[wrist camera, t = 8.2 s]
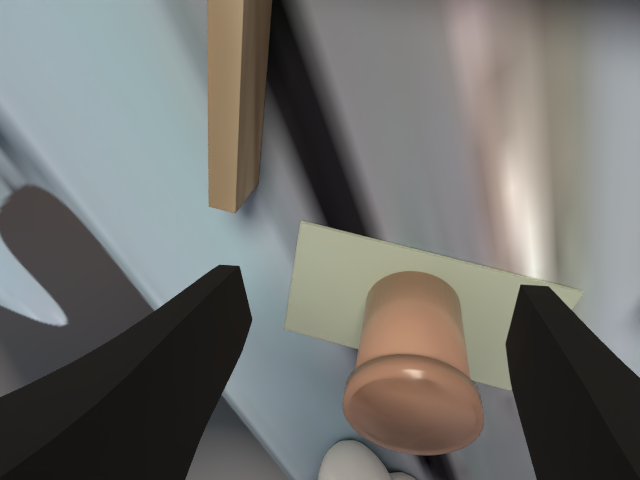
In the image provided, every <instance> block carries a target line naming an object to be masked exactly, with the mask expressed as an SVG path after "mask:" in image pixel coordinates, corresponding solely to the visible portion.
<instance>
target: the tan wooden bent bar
mask: <svg viewBox="0 0 640 480" xmlns="http://www.w3.org/2000/svg"><path fill="white" fill-rule="evenodd" d="M271 10H272V0H207V34H208V169H209V207H212V208H216V209H220V210H224V211H228V212H232V213H236V212H237V210H238V209H239V208H240V207H241V205H242V204H243V203H244V201H245V200H246V199H247V197H248V196H249V195H250V194H251V192H252V191H253V190H254V188H255V187H256V186H257V185H258V182H259V169H260V156H261V143H262V129H263V116H264V103H265V89H266V76H267V63H268V50H269V36H270V23H271Z"/></svg>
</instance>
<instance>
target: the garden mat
mask: <svg viewBox="0 0 640 480" xmlns="http://www.w3.org/2000/svg"><path fill="white" fill-rule="evenodd" d="M403 271H418V272H424V273H428V274H432V275H434V276H436V277H439V278H440V279H442V280H444V281H445V282H447V283H448V284H449V285H450V286H451V287H452V288H453V289H454V290H455V292H456V293H457V295H458V297H459V300H460V305H461V312H462V319H463V327H464V334H465V342H466V350H467V357H468V365H469V372H470V379H471V380H472V381H476V382H480V383H483V384H487V385H491V386H494V387H498V388H502V389H505V390H509V391H510V390H511V389H512V386H511V382H510V375H509V369H508V361H507V353H506V346H505V343H506V339H507V335H508V331H509V328H510V324H511V320H512V316H513V312H514V308H515V304H516V300H517V296H518V292H519V288H520V285H521V284H522V285H538V286H549V287H550V288H551V289H552V290H553V291H554V292H555V293H556V294H557V295H558V296H559V297H560V298H561V300H562V301H563V302H564V303H565V304H566V305H567V306H568V307H569V308H570V309H571V310H572V308H573V307H574V306H575V304H576V303H577V302H578V300H579V299H580V298H581V296H582V295H583V294H584V293H583V291H581V290H577V289H573V288H569V287H565V286H561V285H557V284H553V283H549V282H545V281H541V280H537V279H533V278H529V277H525V276H521V275H517V274H513V273H509V272H505V271H501V270H497V269H493V268H489V267H485V266H481V265H477V264H473V263H469V262H465V261H461V260H457V259H453V258H449V257H445V256H441V255H437V254H433V253H429V252H425V251H421V250H417V249H413V248H409V247H405V246H401V245H397V244H393V243H389V242H385V241H381V240H377V239H373V238H369V237H365V236H361V235H357V234H353V233H349V232H345V231H341V230H337V229H333V228H329V227H325V226H321V225H317V224H313V223H309V222H305V221H301V223H300V230H299V236H298V243H297V249H296V255H295V262H294V268H293V275H292V281H291V288H290V294H289V300H288V307H287V313H286V320H285V326H284V329H285V330H289V331H293V332H296V333H300V334H304V335H307V336H311V337H315V338H318V339H322V340H326V341H329V342H333V343H337V344H340V345H344V346H348V347H351V348H355V349H359V343H360V337H361V330H362V324H363V317H364V311H365V305H366V299H367V295H368V292H369V291H370V289H371V288H372V286H373V285H374V284H375V283H376V282H377V281H379V280H380V279H382V278H384V277H386V276H388V275H390V274H393V273H397V272H403Z"/></svg>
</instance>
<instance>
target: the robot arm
mask: <svg viewBox="0 0 640 480" xmlns="http://www.w3.org/2000/svg"><path fill="white" fill-rule="evenodd" d="M251 322H252V316H251V312H250V308H249V304H248V300H247V295H246V291H245V287H244V283H243V279H242V275H241V270H240V266H230V265H218V266H217V267H215V268H214V269H212V270H211V271H209V272H208V273H207V274H205V275H204V276H202V277H201V278H200V279H198V280H197V281H196V282H194V283H193V284H191V285H190V286H189V287H187V288H186V289H185V290H183V291H182V292H181V293H179V294H178V295H176V296H175V297H174V298H172V299H171V300H170V301H168V302H167V303H165V304H164V305H163V306H161V307H160V308H159V309H157V310H156V311H154V312H153V313H151V314H150V315H148V316H147V317H145V318H144V319H142V320H141V321H139V322H138V323H136V324H135V325H133V326H132V327H130V328H129V329H127V330H126V331H125V332H123V333H121V334H120V335H119V336H117V337H115V338H113V339H112V340H110V341H109V342H107V343H105V344H104V345H102V346H100V347H98V348H97V349H95V350H93V351H92V352H90V353H88V354H86V355H84V356H83V357H81V358H79V359H77V360H75V361H74V362H72V363H70V364H68V365H66V366H64V367H62V368H60V369H58V370H56V371H54V372H52V373H50V374H48V375H46V376H44V377H42V378H40V379H38V380H36V381H34V382H32V383H30V384H28V385H26V386H24V387H22V388H20V389H18V390H15V391H13V392H11V393H9V394H6V395H4V396H2V397H0V480H185V478H186V476H187V473H188V470H189V468H190V465H191V462H192V460H193V457H194V454H195V452H196V449H197V446H198V444H199V441H200V439H201V437H202V434H203V432H204V430H205V427H206V425H207V423H208V421H209V419H210V417H211V415H212V413H213V411H214V409H215V407H216V405H217V403H218V401H219V398H220V396H221V394H222V392H223V390H224V388H225V386H226V384H227V382H228V380H229V378H230V376H231V374H232V372H233V370H234V368H235V365H236V363H237V361H238V359H239V357H240V355H241V353H242V350H243V347H244V344H245V341H246V338H247V335H248V332H249V329H250V326H251ZM505 346H506V353H507V361H508V369H509V375H510V382H511V386H512V390H513V394H514V398H515V402H516V405H517V409H518V413H519V416H520V420H521V424H522V427H523V431H524V435H525V438H526V442H527V446H528V449H529V453H530V456H531V460H532V464H533V467H534V471H535V475H536V478H537V480H640V378H639V377H638V376H637V375H636V374H635V373H634V372H633V371H632V370H631V369H630V368H628V367H627V366H626V365H625V364H624V363H623V362H622V361H621V360H620V359H619V358H618V357H617V356H616V355H615V354H614V353H613V352H612V351H611V350H610V349H609V348H608V347H607V346H606V345H605V344H604V343H603V342H602V341H601V340H600V339H599V338H598V337H597V336H596V335H595V334H594V333H593V332H592V331H591V330H590V329H589V328H588V327H587V326H586V325H585V324H584V323H583V322H582V321H581V320H580V319H579V318H578V317H577V315H576V314H575V313H574V312H573V311H572V310H571V309H570V308H569V307H568V306H567V305H566V304H565V303H564V302H563V301H562V300H561V298H560V297H559V296H558V295H557V294H556V293H555V292H554V291H553V290H552V289H551V288H550V287H549V286H538V285H522V284H521V285H520V288H519V292H518V296H517V300H516V304H515V308H514V312H513V316H512V320H511V324H510V328H509V331H508V335H507V339H506V343H505Z"/></svg>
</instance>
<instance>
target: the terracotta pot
mask: <svg viewBox="0 0 640 480" xmlns="http://www.w3.org/2000/svg"><path fill="white" fill-rule="evenodd" d="M343 412H344V415H345V417H346V420H347V421H348V423H349V424H350V425H351V426H352V428H353V429H354V430H355V431H356V432H358V433H359V434H360V435H361V436H363V437H364V438H366V439H367V440H369V441H371V442H372V443H375V444H377V445H379V446H381V447H384V448H386V449H390V450H393V451H397V452H401V453H406V454H413V455H439V454H445V453H450V452H454V451H457V450H459V449H462V448H464V447H466V446H468V445H469V444H471V443H472V442H473V441H475V440H476V439H477V437H478V436H479V435H480V433H481V431H482V429H483V426H484V416H483V409H482V403H481V397H480V393H479V391H478V389H477V387H476V386H475V384H474V383H473V382H472V381H471V379H470V372H469V365H468V357H467V350H466V342H465V334H464V327H463V319H462V312H461V305H460V300H459V297H458V295H457V293H456V292H455V290H454V289H453V288H452V287H451V286H450V285H449V284H448V283H447V282H445V281H444V280H442V279H440V278H439V277H436V276H434V275H432V274H428V273H424V272H418V271H403V272H397V273H393V274H390V275H388V276H386V277H384V278H382V279H380V280H379V281H377V282H376V283H375V284H374V285H373V286H372V288H371V289H370V291H369V292H368V295H367V299H366V305H365V311H364V317H363V324H362V330H361V337H360V343H359V349H358V356H357V362H356V368H355V370H354V371H353V372H352V373H351V374H350V376H349V377H348V380H347V382H346V387H345V393H344V399H343Z"/></svg>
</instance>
